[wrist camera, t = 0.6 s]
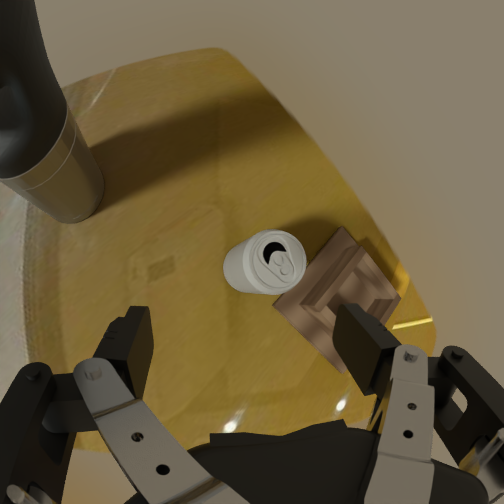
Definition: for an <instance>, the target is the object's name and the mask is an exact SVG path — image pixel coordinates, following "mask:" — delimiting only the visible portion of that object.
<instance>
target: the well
mask: <svg viewBox="0 0 504 504" xmlns="http://www.w3.org/2000/svg"><path fill="white" fill-rule="evenodd" d="M400 300H401V297H400V296H399V294H398V293H397V292H396V290H395V289H394V288H393V286H392V285H391V283H390V282H389V281H388V279H387V278H386V277H385V275H384V274H383V273H382V271H381V270H380V269H379V267H378V266H377V265H376V264H375V262H374V261H373V260H372V258H371V257H370V256H369V255H368V253H367V252H366V251H365V249H364V248H363V247H362V246H358V245H357V243H356V242H355V241H354V240H353V238H352V237H351V236H350V235H349V234H348V232H347V231H346V230H345V229H344V228H343V226H341V227H339V228H338V229H337V231H336V232H335V233H334V234H333V236H332V237H331V238H330V239H329V240H328V241H327V243H326V244H325V245H324V246H323V247H322V249H321V250H320V251H319V252H318V253H317V255H316V256H315V257H314V258H313V259H312V260H311V262H310V263H309V264H308V265H307V266H306V269H305V272H304V275H303V277H302V279H301V280H300V281H299V282H298V283H297V284H296V285H295V286H294V287H293V288H292V289H291V290H289V291H287V292H285V293H282V295H281V296H280V297H279V298H278V299H277V300H276V301H275V302H274V303H273V305H272V306H273V307H274V308H275V309H276V310H277V311H278V312H279V313H280V314H281V315H282V316H283V317H284V318H285V319H286V320H287V321H288V322H289V323H290V324H291V325H292V326H293V327H294V328H295V329H296V330H297V331H298V332H299V333H300V334H301V335H302V336H303V337H304V338H305V339H306V340H307V341H308V342H309V343H310V344H312V345H313V346H314V347H315V348H316V349H317V350H318V351H319V352H320V353H321V354H322V355H323V356H324V357H325V358H326V359H327V360H328V361H329V362H330V363H331V364H332V365H333V366H334V367H335V368H336V369H337V370H338V371H339V372H340V373H342V374H343V373H344V372H345V371H346V370H347V367H346V366H345V364H344V362H343V361H342V359H341V358H340V356H339V354H338V353H337V351H336V350H335V348H334V346H333V342H332V335H333V330H334V325H335V320H336V316H337V311H338V307H339V305H340V304H349V303H357V304H359V306H360V307H361V308H362V309H363V310H364V311H365V312H366V313H369V314H370V315H372V316H374V317H376V318H377V319H378V320H379V321H380V322H381V323H382V325H385V324H386V322H387V320H388V319H389V317H390V316H391V314H392V313H393V311H394V310H395V308H396V306H397V305H398V303H399V301H400Z"/></svg>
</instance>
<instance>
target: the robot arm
mask: <svg viewBox="0 0 504 504" xmlns="http://www.w3.org/2000/svg"><path fill="white" fill-rule="evenodd" d="M0 181H1V182H2V183H3V184H5V185H6V186H8V187H9V188H11V189H12V190H13V191H15V192H16V193H18V194H19V195H21V196H22V197H23V198H25V199H26V200H28V201H29V202H31V203H32V204H33V205H35V206H36V207H38V208H39V209H41V210H42V211H44V212H45V213H47V214H48V215H50V216H51V217H53V218H54V219H56V220H58V221H60V222H62V223H67V224H71V223H77V222H80V221H82V220H84V219H86V218H87V217H89V216H90V215H91V214H92V213H93V212H94V211H95V210H96V208H97V207H98V205H99V203H100V202H101V199H102V196H103V192H104V179H103V175H102V173H101V171H100V169H99V167H98V165H97V163H96V161H95V159H94V157H93V155H92V153H91V151H90V149H89V147H88V146H87V144H86V142H85V139H84V137H83V135H82V133H81V131H80V129H79V127H78V125H77V123H76V121H75V119H74V117H73V115H72V113H71V110H70V108H69V106H68V104H67V101H66V99H65V97H64V95H63V92H62V90H61V88H60V86H59V84H58V82H57V80H56V77H55V75H54V73H53V70H52V68H51V65H50V63H49V60H48V57H47V53H46V50H45V46H44V42H43V38H42V34H41V30H40V26H39V21H38V17H37V12H36V7H35V2H34V0H0ZM332 342H333V346H334V348H335V350H336V351H337V353H338V354H339V356H340V358H341V359H342V361H343V362H344V364H345V366H346V367H347V369H348V370H349V372H350V374H351V375H352V377H353V378H354V380H355V382H356V383H357V385H358V386H359V388H360V390H361V391H362V393H363V394H364V396H367V395H371V394H375V393H376V395H377V397H376V399H375V401H374V405H373V408H372V412H371V415H370V419H369V422H368V425H367V428H366V430H365V429H359V428H347V426H346V424H345V422H344V420H343V419H341V420H336V421H331V422H326V423H320V424H314V425H311V426H309V427H306V428H303V429H301V430H298V431H295V432H292V433H290V434H287V435H283V436H274V435H263V434H254V433H246V432H241V433H210V443H206V444H202V445H199V446H196V447H194V448H191V449H189V450H187V451H186V450H185V449H184V448H183V447H182V446H181V445H180V444H179V443H178V441H177V440H176V439H175V438H174V437H173V436H172V435H171V434H170V433H169V431H168V430H167V429H166V428H165V427H164V426H163V425H162V423H161V422H160V421H159V420H158V419H157V417H156V416H155V415H154V414H153V412H152V411H151V410H150V409H149V408H148V406H147V405H146V404H145V402H144V401H143V400H142V398H143V393H144V389H145V384H146V380H147V376H148V372H149V367H150V363H151V359H152V355H153V349H154V341H153V333H152V326H151V318H150V311H149V307H148V306H130V307H129V309H128V311H127V313H126V315H125V317H118V318H116V319H115V320H114V321H113V322H111V323H110V325H109V326H108V328H107V330H106V332H105V334H104V336H103V338H102V340H101V342H100V343H99V345H98V347H97V349H96V351H95V353H94V355H93V357H92V358H89V359H86V360H83V361H81V362H80V363H78V364H77V365H76V367H75V368H74V371H73V373H67V374H54V375H53V373H52V371H51V369H50V367H49V366H48V365H47V364H45V363H41V362H34V363H30V364H27V365H26V366H24V367H23V368H21V369H20V371H19V372H18V374H17V375H16V377H15V379H14V380H13V382H12V384H11V386H10V387H9V389H8V391H7V393H6V394H5V396H4V398H3V400H2V402H1V403H0V504H61V501H62V496H63V490H64V484H65V480H66V475H67V470H68V466H69V461H70V457H71V453H72V449H73V445H74V441H75V438H76V434H77V432H85V431H96V430H98V431H99V433H100V435H101V437H102V439H103V440H104V442H105V444H106V446H107V447H108V449H109V451H110V452H111V454H112V455H113V457H114V459H115V460H116V462H117V463H118V465H119V466H120V468H121V470H122V471H123V473H124V474H125V476H126V477H127V479H128V480H129V482H130V483H131V485H132V486H133V487H134V488H135V490H136V491H137V493H136V494H135V495H133V496H132V497H131V498H130V499H129V500H128V501H126V502H125V503H124V504H492V503H494V502H495V501H497V500H498V499H499V498H500V497H502V496H503V495H504V389H503V388H502V386H501V385H500V384H499V383H498V382H497V381H496V380H495V379H494V378H493V377H492V376H491V375H490V374H489V373H488V372H487V371H486V370H485V369H484V368H483V367H482V366H481V365H480V364H479V363H478V362H477V361H476V360H475V359H474V358H473V357H472V356H471V355H470V354H469V353H468V352H467V351H465V350H464V349H462V348H460V347H457V346H447V347H445V348H444V349H443V351H442V354H441V356H440V357H427V354H426V353H425V352H424V351H423V350H422V349H420V348H418V347H416V346H413V345H402V344H401V343H400V342H399V341H398V340H397V339H396V338H395V337H394V336H393V335H392V334H391V332H390V331H389V330H388V331H387V328H386V327H385V326H384V325H382V323H381V322H380V321H379V320H378V319H377V318H376V317H374V316H372V315H370V314H369V313H366V312H365V311H364V310H363V309H362V308H361V307H360V306H359V304H357V303H349V304H340V305H339V307H338V311H337V316H336V320H335V325H334V330H333V335H332ZM457 388H458V389H459V390H460V391H461V392H462V394H463V395H464V396H465V397H466V399H467V404H468V405H467V409H466V411H465V412H464V413H463V412H462V411H461V410H460V408H459V407H458V406H457V404H456V403H455V402H454V401H453V399H452V398H451V397H452V396H453V394H454V392H455V390H456V389H457ZM433 427H434V429H435V430H436V432H437V434H438V435H439V436H440V438H441V440H442V441H443V442H444V444H445V446H446V448H447V449H448V451H449V452H450V454H451V456H452V457H453V459H454V460H455V462H456V463H457V465H458V467H459V469H457V468H455V467H452V466H449V465H447V464H444V463H442V462H439V461H437V460H434V459H432V458H431V449H432V438H433Z"/></svg>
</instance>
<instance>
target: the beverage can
mask: <svg viewBox="0 0 504 504" xmlns="http://www.w3.org/2000/svg"><path fill="white" fill-rule="evenodd" d="M305 269H306V254H305V251H304V248H303V246H302V245H301V243H300V242H299V241H298V239H297V238H295V237H294V236H293V235H291V234H289V233H287V232H284V231H281V230H277V229H268V230H264V231H261V232H259V233H257V234H255V235H254V236H252V237H250V238H249V239H247V240H245V241H244V242H242V243H240V244H238V245H237V246H235V247H234V248H232V249H231V250H230V251H229V252H228V254H227V255H226V257H225V260H224V265H223V270H224V275H225V278H226V280H227V282H228V283H229V284H230V285H231V286H232V287H233V288H234V289H236V290H238V291H241V292H246V293H258V294H271V295H277V294H282V293H285V292H287V291H289V290H291V289H292V288H293V287H294V286H295V285H296V284H297V283H298V282H299V281H300V280H301V279H302V277H303V275H304V272H305Z"/></svg>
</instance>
